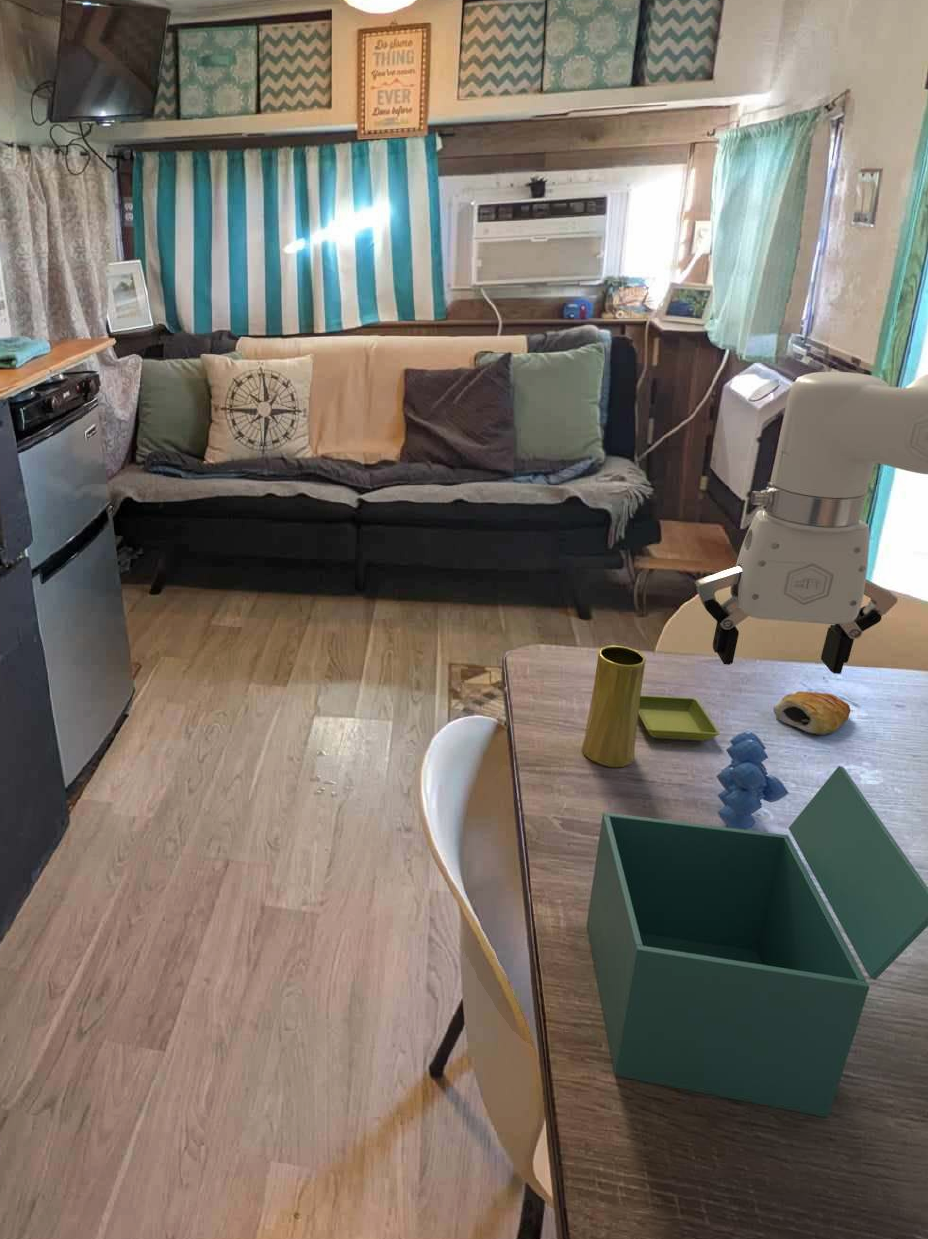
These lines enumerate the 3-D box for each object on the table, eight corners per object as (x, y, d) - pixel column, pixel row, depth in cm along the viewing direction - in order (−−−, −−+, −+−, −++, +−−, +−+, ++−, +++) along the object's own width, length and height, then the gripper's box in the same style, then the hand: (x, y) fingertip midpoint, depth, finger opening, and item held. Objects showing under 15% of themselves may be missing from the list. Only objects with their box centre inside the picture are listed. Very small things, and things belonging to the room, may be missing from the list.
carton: (759, 951, 78) (788, 834, 73) (828, 1118, 64) (870, 986, 59) (586, 924, 82) (602, 812, 77) (614, 1076, 67) (637, 949, 63)
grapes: (780, 872, 87) (804, 776, 83) (706, 851, 90) (725, 758, 86) (775, 806, 96) (796, 717, 92) (708, 790, 100) (725, 703, 95)
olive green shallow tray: (694, 710, 115) (696, 697, 114) (718, 747, 107) (721, 733, 106) (626, 707, 117) (628, 694, 116) (645, 743, 109) (647, 729, 108)
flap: (788, 827, 73) (792, 829, 73) (869, 978, 59) (875, 980, 59) (838, 765, 70) (843, 767, 70) (937, 907, 56) (944, 910, 55)
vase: (585, 735, 111) (598, 639, 106) (636, 747, 108) (652, 649, 103) (578, 760, 106) (591, 661, 101) (631, 773, 103) (647, 672, 98)
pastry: (812, 699, 117) (818, 675, 115) (864, 723, 111) (871, 698, 109) (767, 716, 113) (773, 692, 112) (818, 742, 107) (825, 717, 106)
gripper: (722, 513, 78) (692, 672, 85) (940, 523, 74) (891, 690, 80) (701, 489, 85) (674, 638, 91) (900, 496, 81) (857, 652, 87)
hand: (776, 662), depth 86 cm, fingers open, 9 cm apart
